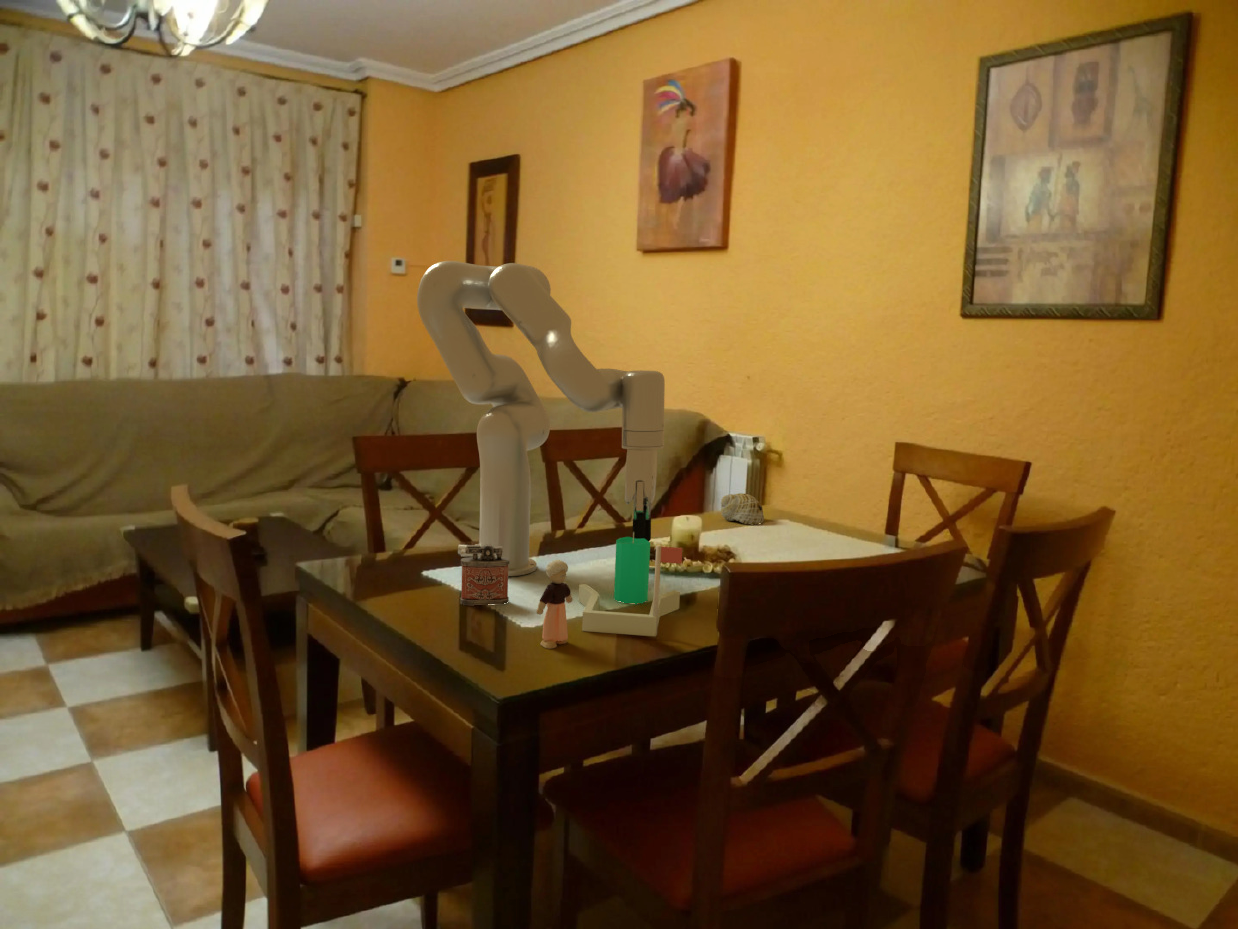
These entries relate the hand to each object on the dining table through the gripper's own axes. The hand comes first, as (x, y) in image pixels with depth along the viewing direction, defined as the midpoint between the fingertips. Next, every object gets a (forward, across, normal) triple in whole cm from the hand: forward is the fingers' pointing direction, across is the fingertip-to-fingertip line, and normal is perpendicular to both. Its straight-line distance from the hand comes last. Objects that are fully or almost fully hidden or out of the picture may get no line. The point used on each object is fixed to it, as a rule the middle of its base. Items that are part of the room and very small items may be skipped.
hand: (641, 540), depth 164 cm
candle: (+9, +8, -1) cm, 12 cm away
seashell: (+9, -67, +19) cm, 70 cm away
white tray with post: (+9, +19, -1) cm, 21 cm away
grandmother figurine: (+9, +33, -10) cm, 35 cm away
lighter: (+8, +16, -25) cm, 31 cm away
